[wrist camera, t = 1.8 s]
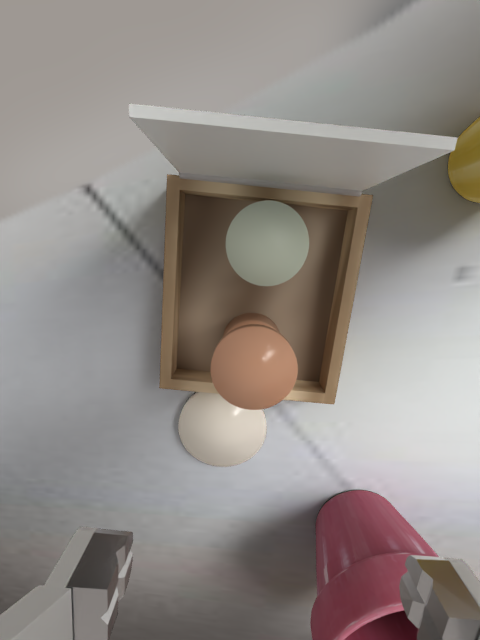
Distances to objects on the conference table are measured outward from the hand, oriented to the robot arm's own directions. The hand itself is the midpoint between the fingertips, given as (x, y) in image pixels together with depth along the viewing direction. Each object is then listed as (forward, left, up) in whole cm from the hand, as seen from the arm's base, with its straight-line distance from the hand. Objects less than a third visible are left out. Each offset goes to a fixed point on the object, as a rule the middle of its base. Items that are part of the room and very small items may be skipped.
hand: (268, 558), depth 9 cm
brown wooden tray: (0, -5, -22) cm, 22 cm away
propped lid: (0, -14, -19) cm, 23 cm away
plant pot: (-14, +20, -22) cm, 33 cm away
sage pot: (0, -9, -21) cm, 23 cm away
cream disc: (+2, +9, -22) cm, 24 cm away
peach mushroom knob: (0, 0, -21) cm, 21 cm away
